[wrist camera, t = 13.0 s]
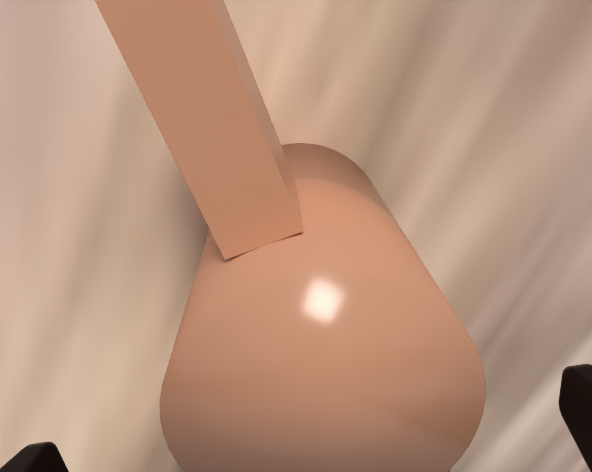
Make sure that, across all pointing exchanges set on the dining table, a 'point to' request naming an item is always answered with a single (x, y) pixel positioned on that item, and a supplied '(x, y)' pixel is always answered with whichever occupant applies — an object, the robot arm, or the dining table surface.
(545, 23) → the dining table surface
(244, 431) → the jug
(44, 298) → the dining table surface
